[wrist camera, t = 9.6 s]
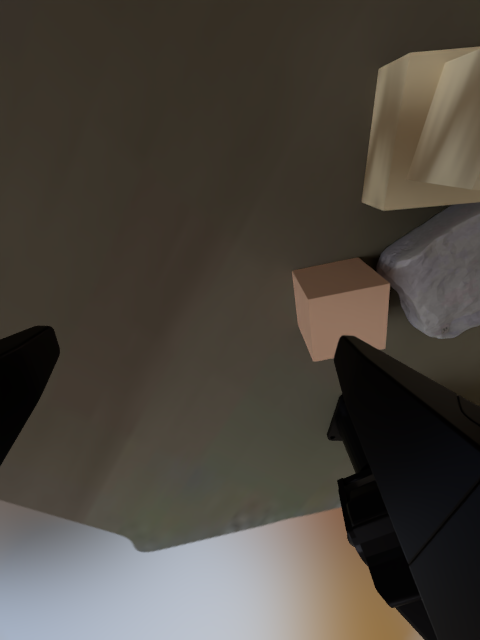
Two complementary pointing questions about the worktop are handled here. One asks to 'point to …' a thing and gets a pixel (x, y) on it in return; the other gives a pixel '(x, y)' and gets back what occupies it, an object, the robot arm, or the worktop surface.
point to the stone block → (438, 271)
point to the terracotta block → (340, 305)
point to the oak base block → (406, 134)
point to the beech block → (452, 128)
